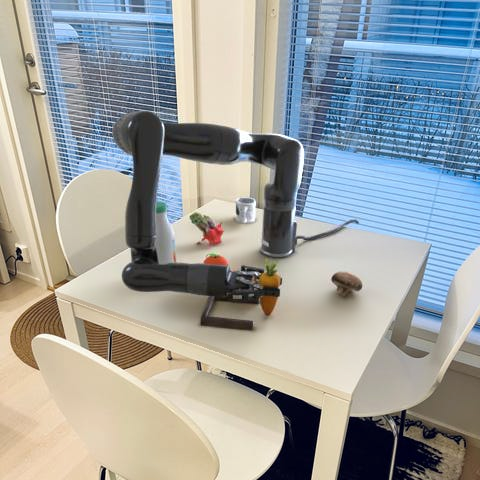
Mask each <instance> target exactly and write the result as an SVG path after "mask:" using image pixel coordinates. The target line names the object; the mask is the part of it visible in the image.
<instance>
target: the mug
mask: <svg viewBox="0 0 480 480" xmlns="http://www.w3.org/2000/svg"><path fill="white" fill-rule="evenodd" d="M256 203H257V201H256V199H255V198H252V197H246V196H245V197H244V196H243V197H238V198H236V199H235V221H236V222H237V223H240V224H251V223H254V222H255V221H256V205H257V204H256Z"/></svg>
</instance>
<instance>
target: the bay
mask: <svg viewBox="0 0 480 480" xmlns="http://www.w3.org/2000/svg"><path fill="white" fill-rule="evenodd" d="M249 297H250V296H249ZM252 297H254V296H252ZM216 300H217V301H228V302H234V301H233V294H230V293H228V296H227V297H225V298H224V297H213V296H208V298H207V301H206V303H205V306H204V308H203V310H202V313H201V315H200V318H199V321H200V326H202V327H213V328H222V329H233V330H243V331H253V329H254V320H251V319H250V320H249V319H239V318H231V317H230V318H229V317H220V316H211V312H212V309H213V307H214V304H215V303H216ZM246 303H247V304H249V303H250V304H260V300H259V301H247V302H246Z"/></svg>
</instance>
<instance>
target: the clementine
mask: <svg viewBox="0 0 480 480" xmlns="http://www.w3.org/2000/svg"><path fill="white" fill-rule="evenodd" d="M202 263H203V264H215V265H227V266H229V263H228V261H227V259H226V258H225V257H224V256H222V255H220V254H216V253H209V254H206V257H205V259H204V261H203V262H202Z"/></svg>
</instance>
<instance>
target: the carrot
mask: <svg viewBox="0 0 480 480" xmlns="http://www.w3.org/2000/svg"><path fill="white" fill-rule="evenodd" d="M264 263H265V270H266V271H264V272H265V273H262V275H261V276H260V278H259V284H258V285H261V286H263V288H264V286H271V287H279V288H280V289H281V285H280V276H281V275H278V273H277V272H278V270H277V269H275V268H276V267H277V265H278V263H279V261H278V260H276V261H272V263H271V265H270V264H269V260H268V258H265V259H264ZM278 299H279V297H271V296H263V297H260V298H259V304H260V307H261V310H262V312H263V313H264V315H265V316H266V317H270V316H271V315H272V313H273V311H274V310H275V307H276V305H277V302H278Z"/></svg>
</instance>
